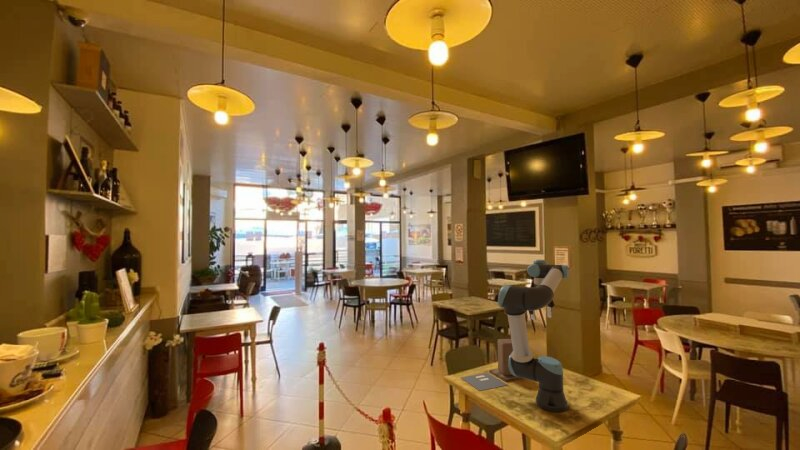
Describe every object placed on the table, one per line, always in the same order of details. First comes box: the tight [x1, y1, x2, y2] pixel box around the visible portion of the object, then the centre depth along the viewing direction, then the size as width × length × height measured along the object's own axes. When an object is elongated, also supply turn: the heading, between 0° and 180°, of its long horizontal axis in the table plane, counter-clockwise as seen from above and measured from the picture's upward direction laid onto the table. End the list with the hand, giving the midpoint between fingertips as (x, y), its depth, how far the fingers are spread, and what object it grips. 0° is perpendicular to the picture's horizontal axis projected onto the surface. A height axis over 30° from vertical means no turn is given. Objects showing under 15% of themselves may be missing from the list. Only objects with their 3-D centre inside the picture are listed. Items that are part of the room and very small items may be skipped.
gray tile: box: [460, 372, 508, 392], centre depth 205 cm, size 20×20×1 cm
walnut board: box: [489, 368, 524, 383], centre depth 214 cm, size 16×16×2 cm
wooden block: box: [497, 338, 513, 375], centre depth 214 cm, size 10×10×20 cm
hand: (541, 318), depth 211 cm, fingers open, 13 cm apart
